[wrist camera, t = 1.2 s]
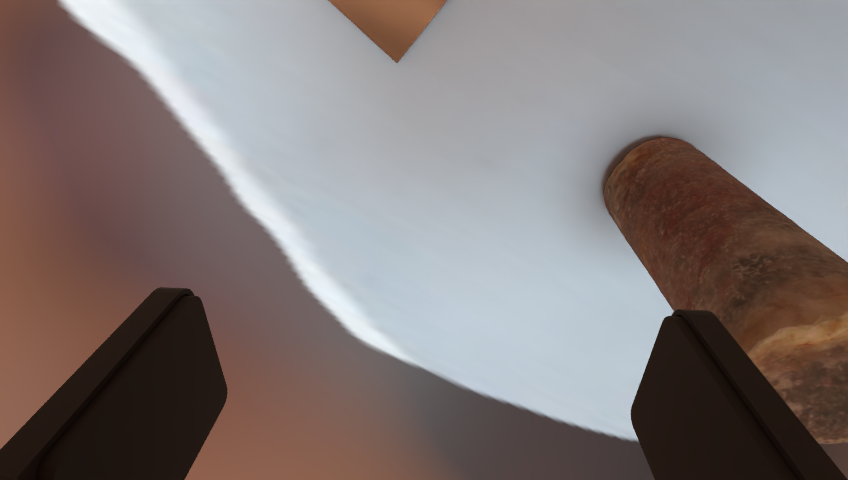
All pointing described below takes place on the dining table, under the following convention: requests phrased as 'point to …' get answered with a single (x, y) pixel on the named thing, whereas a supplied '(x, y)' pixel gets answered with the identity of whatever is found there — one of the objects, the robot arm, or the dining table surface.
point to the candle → (741, 273)
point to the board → (390, 21)
